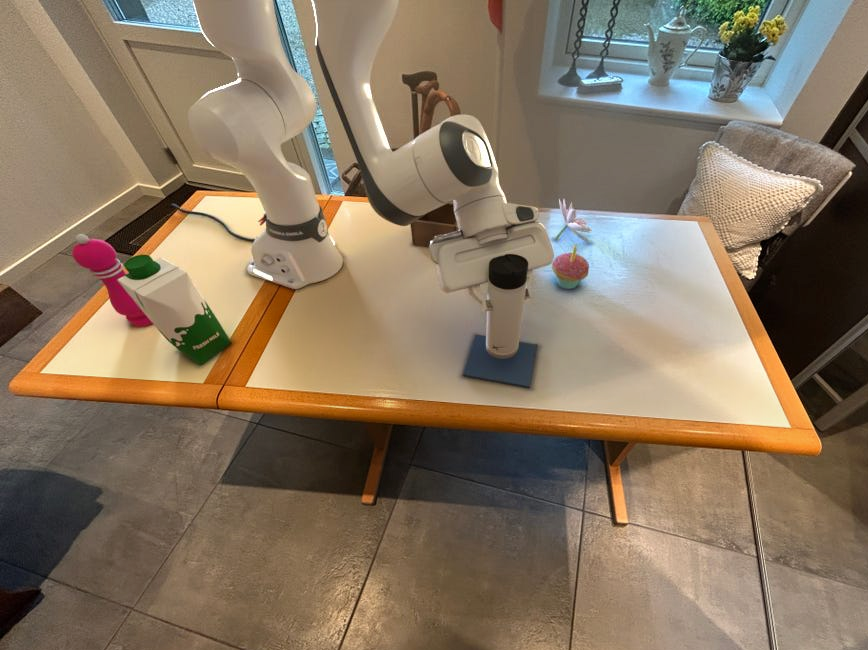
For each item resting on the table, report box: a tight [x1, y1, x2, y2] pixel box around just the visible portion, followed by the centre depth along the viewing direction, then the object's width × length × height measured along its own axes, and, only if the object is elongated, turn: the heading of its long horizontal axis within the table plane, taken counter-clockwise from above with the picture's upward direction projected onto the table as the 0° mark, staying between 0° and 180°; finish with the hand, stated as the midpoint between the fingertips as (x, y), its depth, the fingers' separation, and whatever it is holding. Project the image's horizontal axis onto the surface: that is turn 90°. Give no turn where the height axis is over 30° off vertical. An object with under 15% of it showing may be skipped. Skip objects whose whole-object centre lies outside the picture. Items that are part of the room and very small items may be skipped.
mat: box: [462, 334, 538, 389], centre depth 80 cm, size 13×11×1 cm
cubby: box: [409, 202, 459, 248], centre depth 106 cm, size 12×11×7 cm
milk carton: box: [118, 254, 233, 366], centre depth 73 cm, size 9×9×20 cm
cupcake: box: [551, 243, 590, 290], centre depth 92 cm, size 9×8×12 cm
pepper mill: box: [71, 233, 154, 328], centre depth 79 cm, size 7×7×20 cm
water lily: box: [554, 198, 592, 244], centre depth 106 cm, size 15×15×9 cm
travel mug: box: [485, 254, 528, 359], centre depth 69 cm, size 6×7×20 cm
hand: (507, 305), depth 68 cm, fingers closed on travel mug, 6 cm apart
